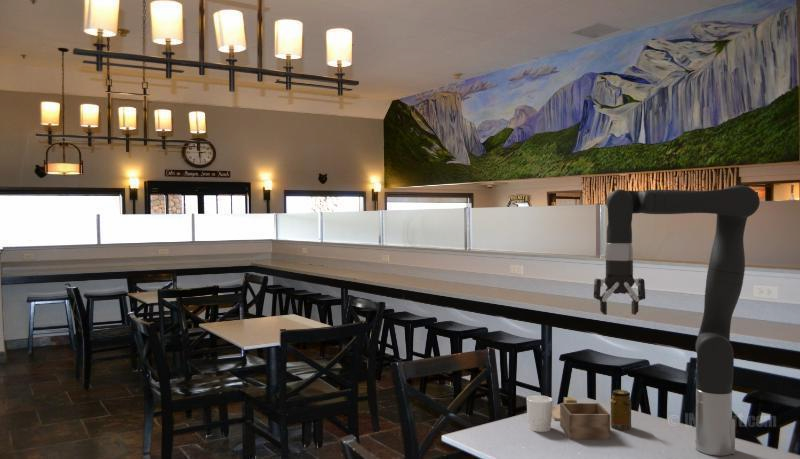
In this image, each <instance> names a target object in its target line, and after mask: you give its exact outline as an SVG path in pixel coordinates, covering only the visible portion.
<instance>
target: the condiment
mask: <svg viewBox="0 0 800 459" xmlns="http://www.w3.org/2000/svg"><path fill="white" fill-rule="evenodd" d="M610 429H613V430H616V431H630V430H631V429H632V401H631V394H630V392H629V391H628V390H623V389H615V390H614V389H613V391H612V393H611V400H610Z"/></svg>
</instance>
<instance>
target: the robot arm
mask: <svg viewBox="0 0 800 459" xmlns="http://www.w3.org/2000/svg"><path fill="white" fill-rule="evenodd" d="M760 199H761V198H760V196H759V194H758V193H757V192H756V190H755V189H753V188H752V187H750V186H747V185H743V184H742V185H741V184H740V185H739V184H738V185H732V186H731V185H730V186H729V187H726V188H722V189H715V190H684V189H646V190H625V189H615V190H613V191H611V192H610V193H608V195H607V197H606V199H605V205H606V208H607V226H606V246H605V256H604V257H605V278H603V279H602V278H601V279H600V278H595V279H594V280H593V281H594V284H593V299H595V300H597V301H599V305H600V306H599V310H600V311H599V312H601V313H602V315H603V316H604V315H605V316H607V315H608V303H607V302H608V301H607V300H608V299H609V297H610V296H612V295H613V294H615V295H616V294H617V295H619V294H622V295H623V294H624V295H626V294H627V295H628V296H629V297H630V298H631V299H632V300H631V314H632V315H633V316H634V315H637V313H639V302H640V301H642V300H645V299H646V287H645V286H646V285H645V279H644V278H640V277H639V278H634V249H633V248H634V247H633V228H632V222H633V215H634V214H647V215H682V214H683V215H684V214H712V215H713V214H714V215H716V226H715V234H714V240H713V243H712V248H711V252H710V257H709V263H708V266H707V267H708V268H707V274H706V278H705V280H706V281H705V289H704V290H705V291H704V304H703V305H704V307H703V308H704V309H703V314H702V315H703V316H702V318H701V319H702V320H701V324H700V329H699V331H698V334H697V337H696V338H697V339H696V340H695V352H696V378H695V450H697V451H698V452H701V453H702V454H706V455H710V456H718V457H720V456H723V457H724V456H729V455H734V454H736V421H735V419H734V418H733V383H734V368H735V367H734V365H735V364H734V363H735V355H734V352H735V351H734V348H733V346H732V343H731V342H730V341H731V340H730V339H731V336H730V335H731V326H732V325H731V324H732V317H733V314H734V311H735V309H736V306H737V305H738V301H739V298H740V295H741V292H742V288H743V284H744V277H745V269H746V257H745V255H746V254H745V247H744V236H745V234H744V233H745V229H746V224H747V220H748V218H750V216H752V215H754V214H755V213H756V212H757V210H758V209H759V207H760V205H761V202H760V201H761V200H760ZM603 285H605V286H606V288H605V289H604V291H603V293H602V294H601V287H603ZM634 285H635V287H636V286H637V294H636V293H635V291H634V290H633V288H632V287H633V286H634Z"/></svg>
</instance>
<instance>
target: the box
mask: <svg viewBox="0 0 800 459" xmlns="http://www.w3.org/2000/svg"><path fill="white" fill-rule="evenodd" d="M559 406H560V421H559V427H560V428H561V430H562V431H563V432H564V434H565V435H566V436H567V438H568V439H569V440H611V413H610V412H608V411H607V410H606V409H605V408H604V407H603V406H602V405H601V404H600V403H598V402H577V403H564V402H560V404H559Z"/></svg>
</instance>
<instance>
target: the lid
mask: <svg viewBox="0 0 800 459" xmlns="http://www.w3.org/2000/svg"><path fill="white" fill-rule="evenodd" d="M563 403H578V400H577V399H576V398H575V397H574V396H571V397H570V396H567V397H565V396H563ZM552 419H553V420H554V421H558V422H560V405H559V406H554V405H552Z"/></svg>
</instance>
